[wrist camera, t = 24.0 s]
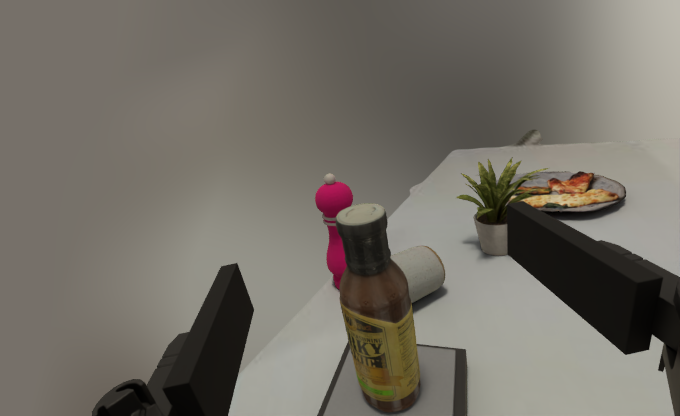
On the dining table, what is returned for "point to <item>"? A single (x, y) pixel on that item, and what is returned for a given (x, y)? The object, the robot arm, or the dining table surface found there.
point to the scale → (434, 395)
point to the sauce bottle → (377, 311)
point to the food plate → (570, 191)
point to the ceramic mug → (420, 270)
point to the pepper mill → (334, 221)
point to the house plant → (496, 205)
